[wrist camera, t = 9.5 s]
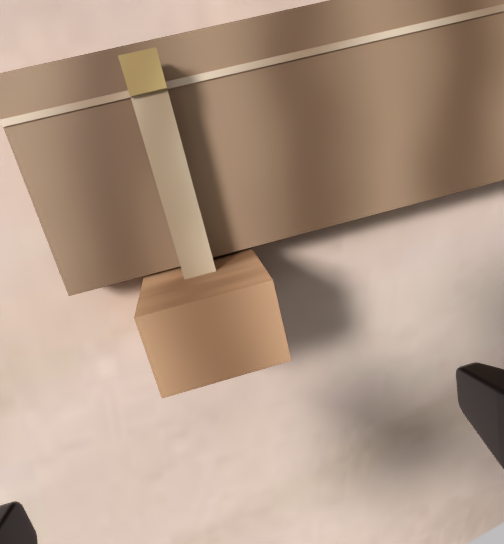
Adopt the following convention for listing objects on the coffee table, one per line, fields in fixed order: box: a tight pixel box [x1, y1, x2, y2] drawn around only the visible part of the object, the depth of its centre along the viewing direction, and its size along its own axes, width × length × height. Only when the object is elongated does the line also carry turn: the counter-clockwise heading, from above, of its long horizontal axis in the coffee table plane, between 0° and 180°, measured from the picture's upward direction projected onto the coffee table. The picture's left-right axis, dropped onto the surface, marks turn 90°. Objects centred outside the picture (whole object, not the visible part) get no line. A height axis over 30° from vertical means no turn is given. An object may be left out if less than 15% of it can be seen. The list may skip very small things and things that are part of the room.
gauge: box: [118, 47, 291, 398], centre depth 16 cm, size 4×11×6 cm, turn 13°
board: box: [0, 0, 504, 296], centre depth 18 cm, size 22×8×2 cm, turn 103°
